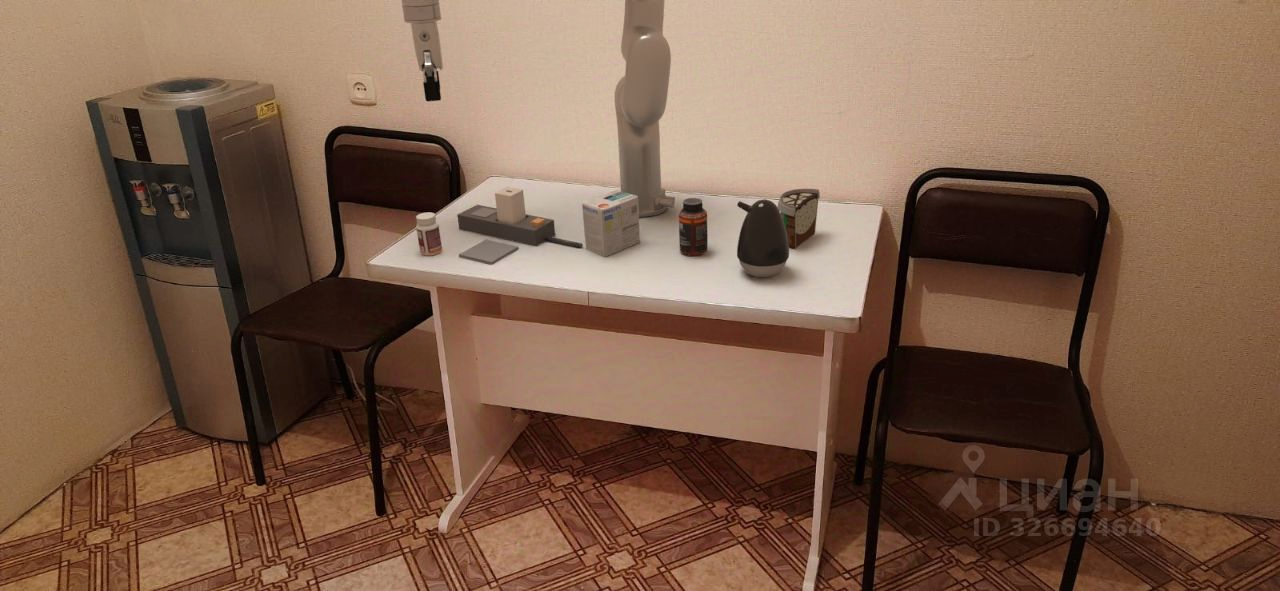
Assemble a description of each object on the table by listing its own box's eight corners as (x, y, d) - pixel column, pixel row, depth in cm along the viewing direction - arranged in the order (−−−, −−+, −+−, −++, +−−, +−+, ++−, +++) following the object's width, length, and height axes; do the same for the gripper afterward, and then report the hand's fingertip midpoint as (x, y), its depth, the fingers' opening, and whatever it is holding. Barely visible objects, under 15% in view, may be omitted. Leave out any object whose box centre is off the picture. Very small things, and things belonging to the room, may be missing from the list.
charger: (526, 223, 202) (523, 189, 199) (514, 230, 199) (510, 195, 196) (511, 220, 205) (507, 186, 201) (498, 227, 201) (494, 192, 198)
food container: (792, 227, 200) (794, 184, 195) (817, 232, 197) (820, 188, 192) (765, 246, 191) (767, 201, 186) (792, 252, 188) (794, 207, 183)
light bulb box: (620, 234, 200) (617, 188, 195) (641, 242, 195) (639, 195, 191) (584, 249, 193) (580, 202, 188) (605, 257, 189) (602, 209, 184)
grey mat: (518, 249, 195) (518, 246, 194) (491, 264, 188) (491, 262, 188) (486, 241, 199) (486, 239, 199) (459, 256, 192) (458, 254, 192)
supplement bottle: (712, 248, 191) (712, 198, 186) (699, 259, 186) (699, 207, 181) (687, 243, 194) (686, 194, 189) (674, 254, 189) (673, 203, 184)
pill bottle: (445, 247, 197) (439, 211, 194) (438, 256, 193) (433, 219, 189) (424, 247, 198) (418, 211, 194) (417, 256, 194) (411, 219, 190)
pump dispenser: (744, 258, 186) (745, 188, 179) (793, 265, 182) (796, 193, 175) (729, 279, 177) (729, 206, 170) (781, 286, 174) (783, 212, 167)
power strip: (591, 242, 196) (590, 223, 194) (573, 254, 191) (571, 234, 189) (479, 218, 212) (476, 201, 210) (459, 229, 206) (456, 211, 204)
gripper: (441, 18, 180) (452, 103, 187) (439, 5, 195) (449, 84, 203) (402, 21, 178) (415, 106, 186) (404, 8, 194) (415, 87, 201)
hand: (433, 95), depth 194 cm, fingers open, 9 cm apart
